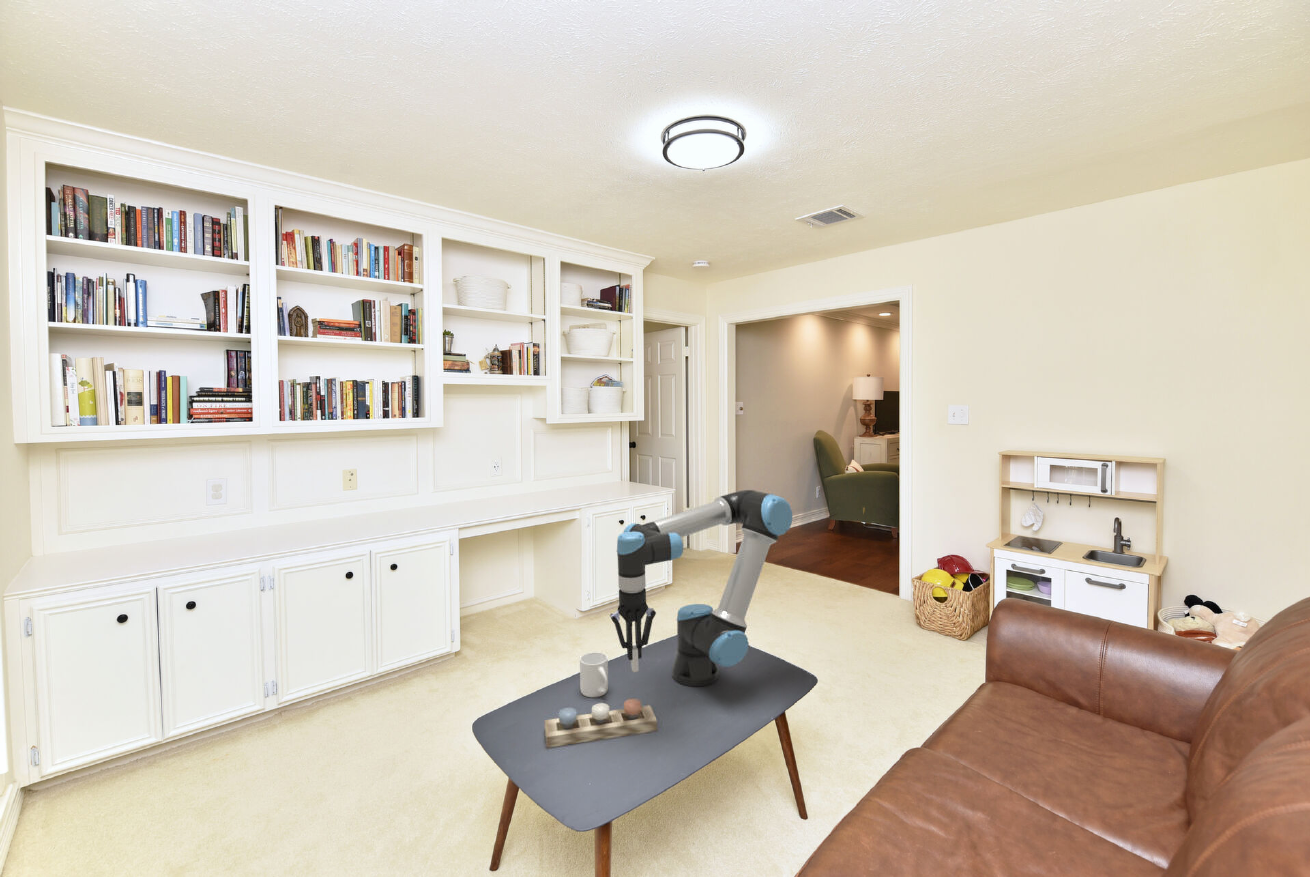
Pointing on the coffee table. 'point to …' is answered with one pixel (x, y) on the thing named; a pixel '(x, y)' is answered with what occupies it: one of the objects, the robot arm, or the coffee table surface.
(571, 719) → the slate ball
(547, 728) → the three-ball wooden rack
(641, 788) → the coffee table surface
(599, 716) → the cream rounded piece
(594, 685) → the mug
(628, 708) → the terracotta ball
